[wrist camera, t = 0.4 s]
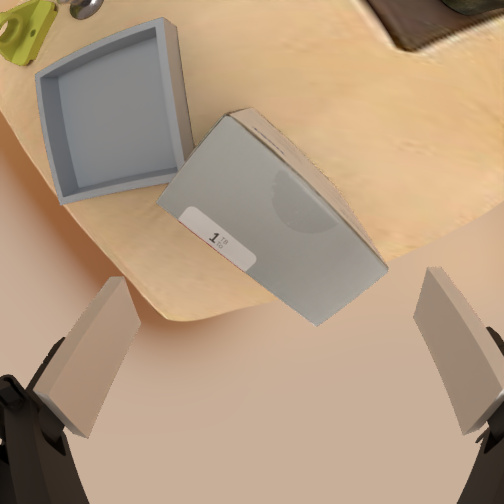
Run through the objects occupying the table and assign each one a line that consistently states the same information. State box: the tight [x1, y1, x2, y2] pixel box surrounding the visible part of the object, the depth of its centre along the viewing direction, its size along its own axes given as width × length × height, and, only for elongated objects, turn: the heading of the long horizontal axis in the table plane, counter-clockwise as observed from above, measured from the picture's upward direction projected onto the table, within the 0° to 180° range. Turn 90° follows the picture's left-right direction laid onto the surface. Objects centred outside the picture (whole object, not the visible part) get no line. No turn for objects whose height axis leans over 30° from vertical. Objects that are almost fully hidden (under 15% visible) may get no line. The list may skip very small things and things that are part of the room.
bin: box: [35, 17, 195, 205], centre depth 31 cm, size 20×20×5 cm
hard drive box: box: [156, 107, 388, 327], centre depth 27 cm, size 16×8×20 cm, turn 48°
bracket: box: [0, 0, 58, 66], centre depth 21 cm, size 11×6×10 cm, turn 147°
